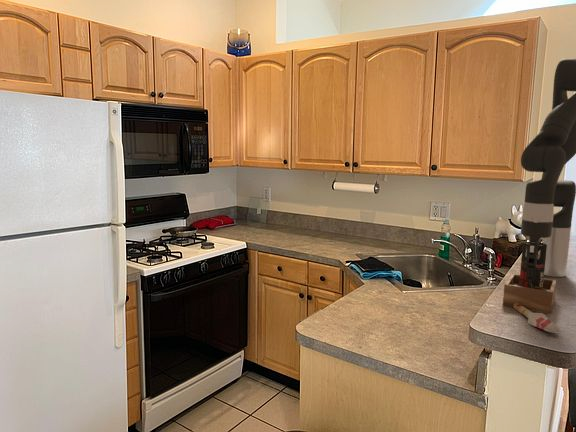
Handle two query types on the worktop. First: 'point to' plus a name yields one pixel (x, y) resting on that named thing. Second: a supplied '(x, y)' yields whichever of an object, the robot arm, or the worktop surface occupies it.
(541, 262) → the deodorant
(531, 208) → the robot arm
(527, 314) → the paintbrush
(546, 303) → the walled box
